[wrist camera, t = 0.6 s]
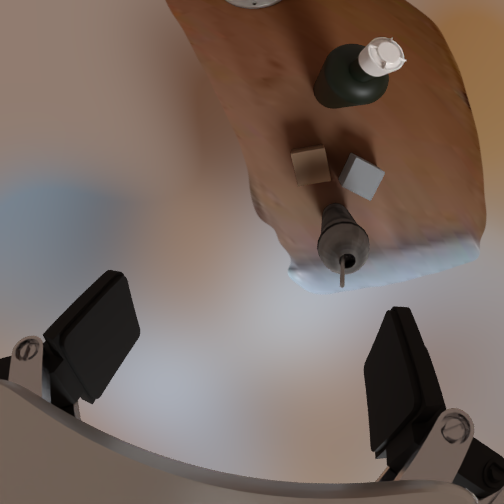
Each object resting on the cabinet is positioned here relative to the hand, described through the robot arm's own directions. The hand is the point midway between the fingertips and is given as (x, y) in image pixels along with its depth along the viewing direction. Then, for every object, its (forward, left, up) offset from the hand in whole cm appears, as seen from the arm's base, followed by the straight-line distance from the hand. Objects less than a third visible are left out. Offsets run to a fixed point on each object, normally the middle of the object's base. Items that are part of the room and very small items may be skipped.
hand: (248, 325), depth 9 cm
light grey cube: (+2, +11, -38) cm, 40 cm away
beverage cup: (+10, +8, -39) cm, 41 cm away
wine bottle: (-11, +6, -39) cm, 40 cm away
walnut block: (+1, +3, -38) cm, 39 cm away
